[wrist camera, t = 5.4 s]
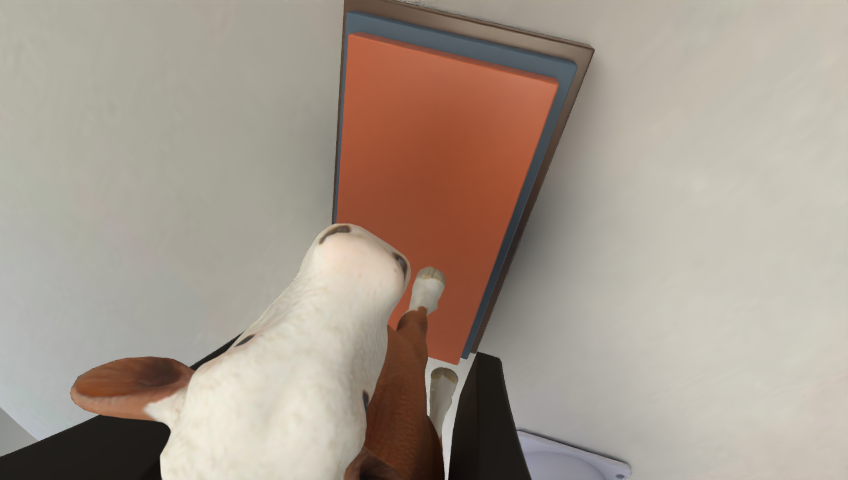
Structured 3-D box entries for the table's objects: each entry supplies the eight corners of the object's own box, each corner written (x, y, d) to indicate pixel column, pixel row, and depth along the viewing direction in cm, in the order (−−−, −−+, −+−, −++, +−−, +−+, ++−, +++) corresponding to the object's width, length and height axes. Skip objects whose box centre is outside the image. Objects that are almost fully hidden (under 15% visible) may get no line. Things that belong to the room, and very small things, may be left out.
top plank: (460, 351, 21) (457, 366, 20) (336, 314, 21) (329, 327, 20) (557, 78, 13) (560, 84, 12) (358, 30, 13) (347, 33, 13)
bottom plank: (477, 338, 23) (475, 354, 22) (334, 296, 24) (326, 310, 23) (590, 45, 14) (596, 48, 13) (356, -9, 15) (344, -9, 14)
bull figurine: (492, 111, 9) (384, 470, 2) (460, 440, 16) (412, 756, 10) (316, 100, 10) (-146, 341, 3) (361, 418, 17) (253, 696, 10)
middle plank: (469, 346, 22) (467, 360, 21) (334, 306, 22) (327, 318, 22) (575, 61, 13) (578, 65, 13) (356, 10, 14) (345, 11, 13)
